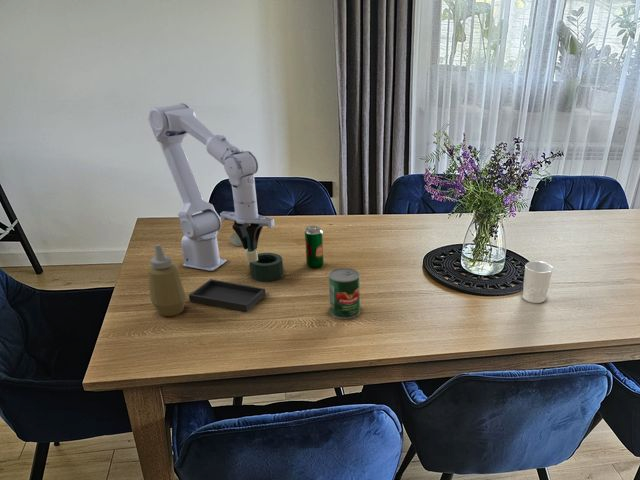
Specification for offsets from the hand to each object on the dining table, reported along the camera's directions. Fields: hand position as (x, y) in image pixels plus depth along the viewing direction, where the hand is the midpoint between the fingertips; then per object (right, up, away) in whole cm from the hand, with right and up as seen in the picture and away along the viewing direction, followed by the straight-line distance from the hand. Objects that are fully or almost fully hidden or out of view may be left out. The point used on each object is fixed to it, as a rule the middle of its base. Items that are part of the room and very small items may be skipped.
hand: (250, 248), depth 167 cm
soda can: (+13, -2, +18) cm, 23 cm away
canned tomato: (+27, -18, -4) cm, 32 cm away
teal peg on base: (0, -3, +2) cm, 3 cm away
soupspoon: (-16, +10, +34) cm, 39 cm away
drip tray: (-5, -14, -3) cm, 15 cm away
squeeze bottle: (-16, -18, -11) cm, 27 cm away
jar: (+1, -6, +10) cm, 12 cm away
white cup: (+79, -13, +12) cm, 81 cm away
